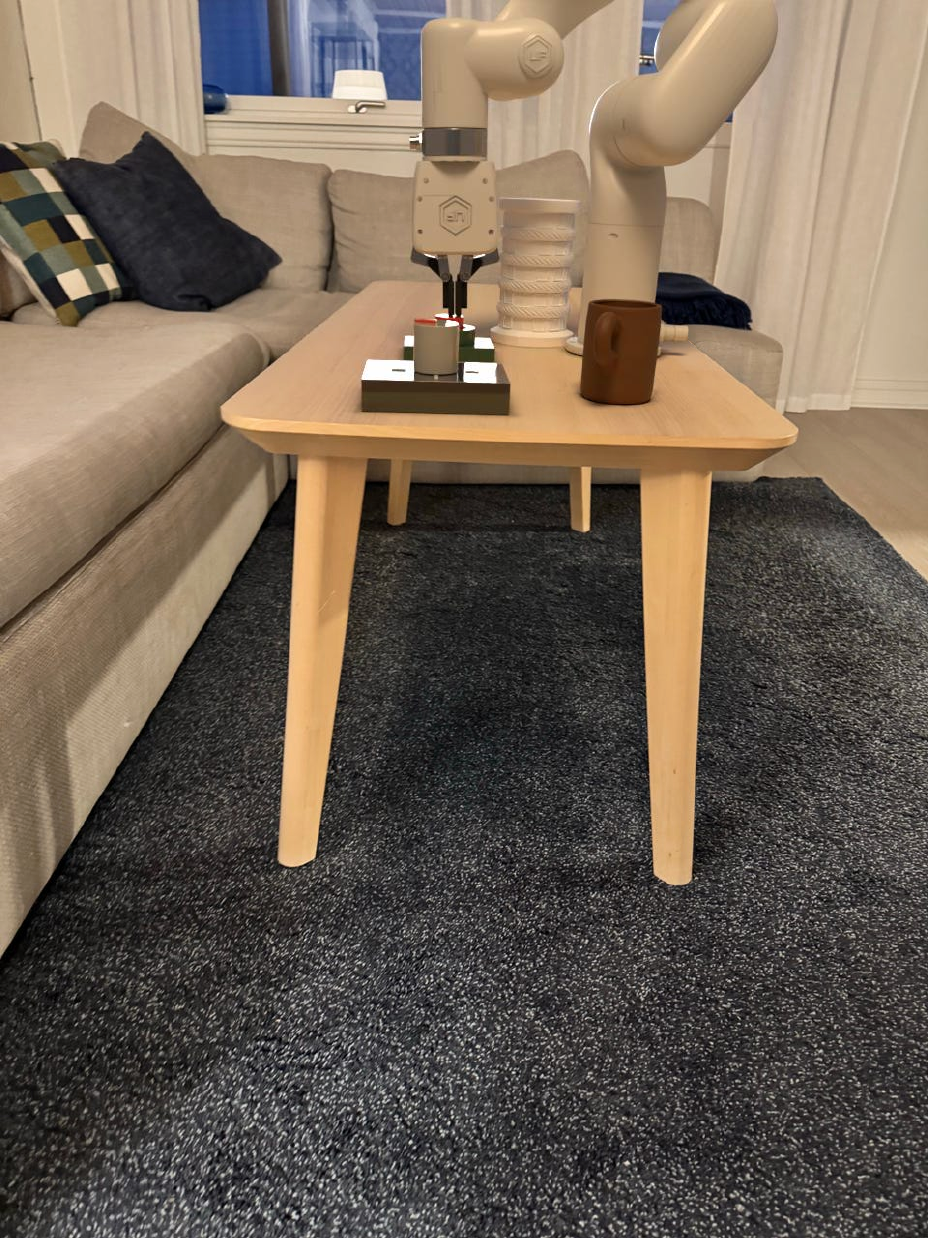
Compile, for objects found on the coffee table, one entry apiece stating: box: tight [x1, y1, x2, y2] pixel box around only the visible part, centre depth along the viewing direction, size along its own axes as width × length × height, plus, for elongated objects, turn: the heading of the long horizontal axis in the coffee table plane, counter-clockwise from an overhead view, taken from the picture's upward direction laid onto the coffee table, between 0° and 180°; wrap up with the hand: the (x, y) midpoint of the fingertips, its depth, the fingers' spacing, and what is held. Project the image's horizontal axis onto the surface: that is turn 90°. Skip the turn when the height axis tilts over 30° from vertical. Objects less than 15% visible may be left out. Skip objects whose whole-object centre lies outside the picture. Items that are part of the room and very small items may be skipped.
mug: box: [579, 299, 663, 405], centre depth 91 cm, size 12×8×9 cm, turn 156°
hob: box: [360, 359, 512, 416], centre depth 90 cm, size 14×10×3 cm
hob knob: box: [412, 318, 459, 375], centre depth 88 cm, size 4×4×5 cm
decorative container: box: [489, 197, 583, 348], centre depth 123 cm, size 12×12×18 cm
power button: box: [434, 313, 465, 329], centre depth 112 cm, size 4×4×2 cm
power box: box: [403, 324, 496, 363], centre depth 113 cm, size 11×8×4 cm
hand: (454, 314), depth 112 cm, fingers closed
